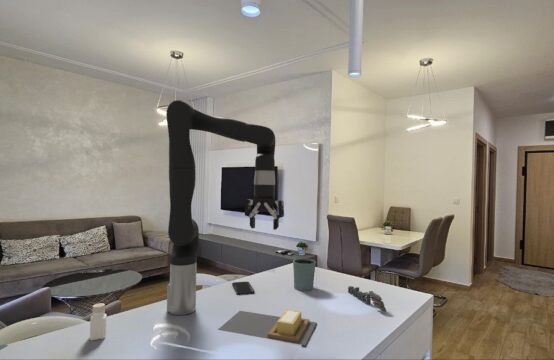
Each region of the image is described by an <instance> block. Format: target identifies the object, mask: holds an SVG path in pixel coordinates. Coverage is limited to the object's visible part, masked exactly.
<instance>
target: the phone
mask: <svg viewBox="0 0 554 360" xmlns="http://www.w3.org/2000/svg"><path fill="white" fill-rule="evenodd" d="M231 285H232V288H233V290H234V292H235V294H236V296H241V295H242V296H243V295H253V294H255V293H256V292H255V289H254V288H253V286H252V285H251V283H250V281H236V282H235V281H233V282H232V283H231Z"/></svg>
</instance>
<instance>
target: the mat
mask: <svg viewBox="0 0 554 360" xmlns="http://www.w3.org/2000/svg"><path fill="white" fill-rule="evenodd" d="M280 317H281V316H277V315H272V314H264V313H256V312H252V311H244V310H239V311H238V312H236V313H235V314H234V315H233V316H231V317H230V318H229V319H228V320H227V321H226V322H225V323H223V325H221V326H219V328H217V330H219V331H222V332H230V333H233V334H240V335H246V336H252V337H257V338H262V339H267V340H272V341H274V340H275V341H280V342H285V343H289V344H290V343H291V344H296V345H300V347H303V348H305V347H306V346H307V345H308V342H309V340H310V338H311V336H312V334H313V332H314V331H315V328H316V327H317V322H315V321H311V320H310V319H309V318H303V317H301V325H300V327H299V329H298V330H297V332H296V333H295V335H294V336H290V335H284V334H278V333H277V321H278V320H279V319H280Z"/></svg>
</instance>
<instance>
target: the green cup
mask: <svg viewBox="0 0 554 360" xmlns="http://www.w3.org/2000/svg"><path fill="white" fill-rule="evenodd" d="M316 263H317V262H316V261H315V260H314V259H310V258H296V259H293V261H292V265H293V267H292V268H293V288H294V289H295V290H296V289H297V290H296V291H299V290H300V291H301V292H309V290H310V291H312V290H313V289H314V284H315V283H314V281H315V280H314V279H315V272H316V265H317V264H316Z"/></svg>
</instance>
